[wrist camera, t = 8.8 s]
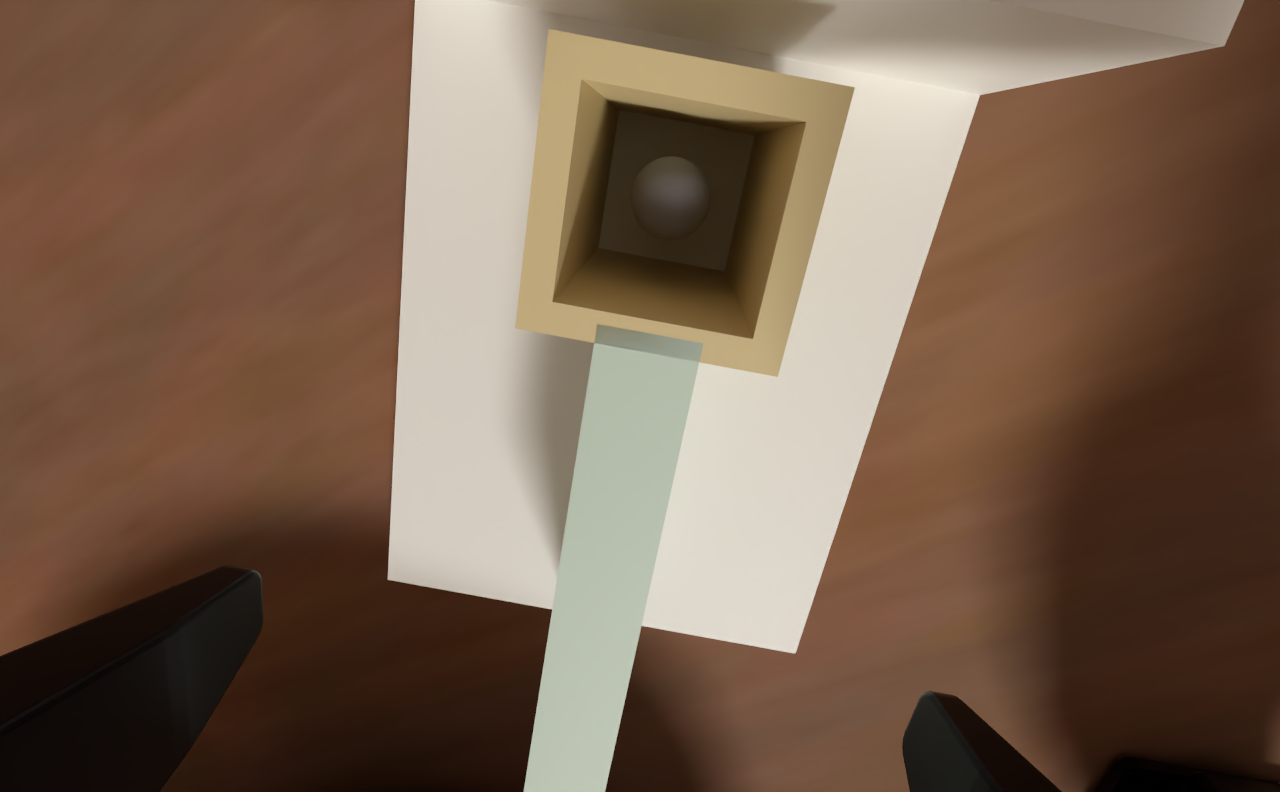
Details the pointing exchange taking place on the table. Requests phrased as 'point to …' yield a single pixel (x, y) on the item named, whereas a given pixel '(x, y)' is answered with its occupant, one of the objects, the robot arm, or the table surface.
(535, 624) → the table surface
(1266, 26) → the table surface
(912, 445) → the table surface
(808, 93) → the square socket tool
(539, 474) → the l-shaped pin bracket
